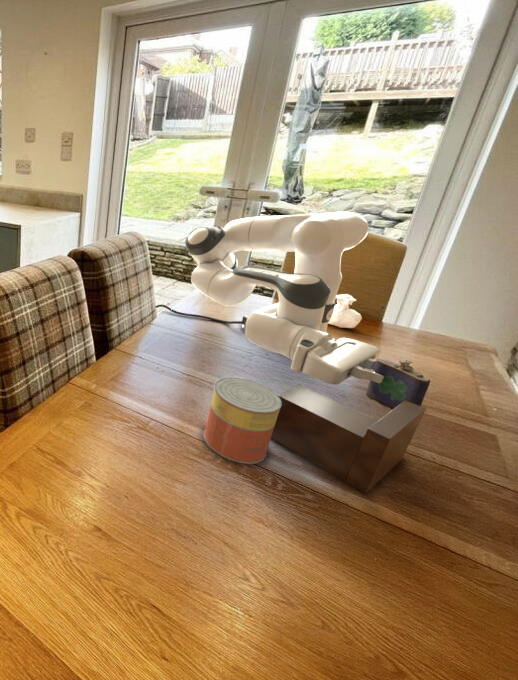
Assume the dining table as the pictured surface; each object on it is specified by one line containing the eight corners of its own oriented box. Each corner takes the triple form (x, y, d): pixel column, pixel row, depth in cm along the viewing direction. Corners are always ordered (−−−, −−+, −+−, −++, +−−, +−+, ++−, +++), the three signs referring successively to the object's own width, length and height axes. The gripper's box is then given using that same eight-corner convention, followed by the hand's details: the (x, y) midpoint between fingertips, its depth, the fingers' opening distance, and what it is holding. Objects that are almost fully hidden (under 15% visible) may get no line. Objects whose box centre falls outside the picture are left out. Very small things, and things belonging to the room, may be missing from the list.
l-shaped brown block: (265, 435, 82) (280, 387, 78) (305, 411, 90) (320, 365, 85) (365, 493, 69) (390, 439, 64) (401, 459, 76) (426, 408, 72)
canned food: (258, 431, 83) (273, 383, 79) (272, 470, 74) (289, 418, 69) (201, 419, 87) (211, 373, 82) (206, 455, 77) (219, 404, 72)
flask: (361, 394, 86) (376, 351, 82) (372, 392, 87) (387, 349, 83) (409, 421, 78) (429, 374, 74) (421, 418, 78) (440, 372, 74)
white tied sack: (356, 335, 130) (371, 305, 130) (355, 327, 125) (371, 296, 125) (313, 323, 139) (327, 295, 139) (311, 315, 134) (325, 286, 134)
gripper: (330, 349, 99) (402, 375, 88) (287, 371, 90) (360, 404, 78) (338, 327, 97) (412, 351, 86) (294, 347, 87) (371, 377, 76)
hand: (387, 376), depth 82 cm, fingers closed on flask, 3 cm apart
